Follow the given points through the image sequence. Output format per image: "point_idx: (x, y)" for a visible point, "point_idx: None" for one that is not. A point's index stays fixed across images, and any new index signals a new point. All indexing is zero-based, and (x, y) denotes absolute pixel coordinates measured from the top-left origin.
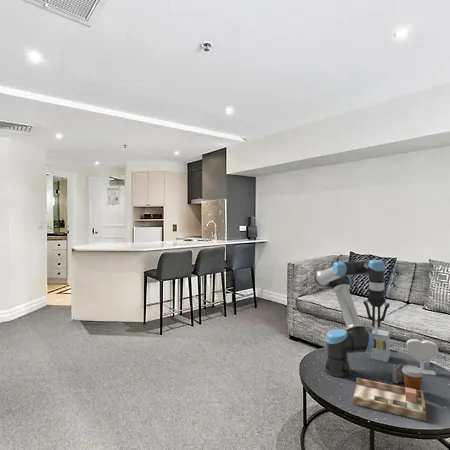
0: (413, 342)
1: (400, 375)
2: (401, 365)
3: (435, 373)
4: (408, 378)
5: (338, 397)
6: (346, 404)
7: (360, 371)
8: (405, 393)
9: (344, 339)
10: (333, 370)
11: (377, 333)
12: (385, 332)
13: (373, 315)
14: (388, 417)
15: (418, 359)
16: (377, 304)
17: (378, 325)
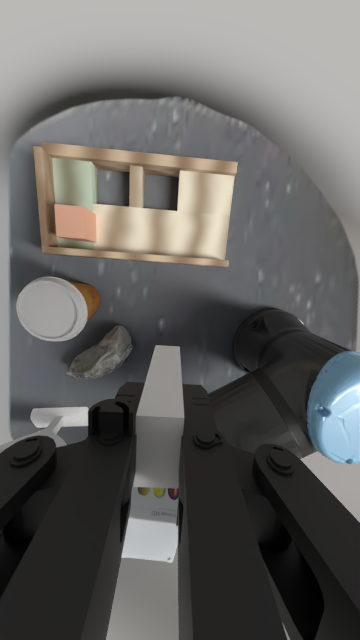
0: None
1: (105, 339)
2: (93, 364)
3: (31, 417)
4: (73, 284)
5: (269, 194)
6: (249, 162)
7: (209, 362)
8: (92, 233)
9: (318, 376)
10: (287, 314)
11: (156, 346)
12: (133, 543)
13: (226, 563)
14: (143, 135)
15: (50, 436)
16: None
17: (135, 395)
